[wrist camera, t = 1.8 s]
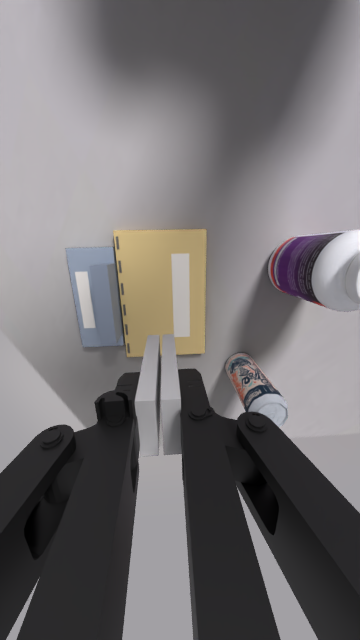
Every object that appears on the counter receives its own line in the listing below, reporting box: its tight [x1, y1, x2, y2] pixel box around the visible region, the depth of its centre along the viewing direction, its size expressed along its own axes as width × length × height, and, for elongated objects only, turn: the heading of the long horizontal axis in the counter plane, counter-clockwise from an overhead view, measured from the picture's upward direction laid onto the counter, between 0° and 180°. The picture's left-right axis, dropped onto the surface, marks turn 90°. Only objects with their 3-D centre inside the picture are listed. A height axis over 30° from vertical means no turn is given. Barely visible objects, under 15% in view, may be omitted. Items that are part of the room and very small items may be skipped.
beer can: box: [225, 353, 288, 427], centre depth 31 cm, size 5×5×12 cm
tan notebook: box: [113, 229, 206, 357], centre depth 31 cm, size 18×12×1 cm, turn 1°
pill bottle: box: [268, 229, 360, 312], centre depth 25 cm, size 8×8×14 cm
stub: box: [66, 247, 125, 347], centre depth 29 cm, size 14×6×5 cm, turn 1°
